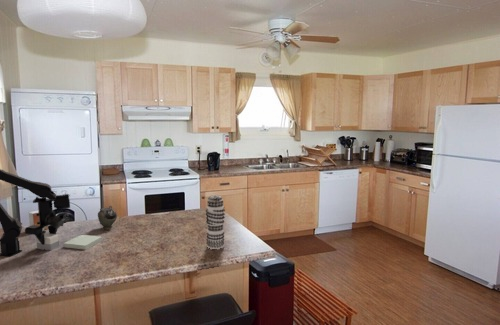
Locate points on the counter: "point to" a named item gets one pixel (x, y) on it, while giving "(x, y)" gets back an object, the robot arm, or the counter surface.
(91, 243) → the stand
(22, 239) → the counter surface
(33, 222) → the small box
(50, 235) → the block
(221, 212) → the tower model
